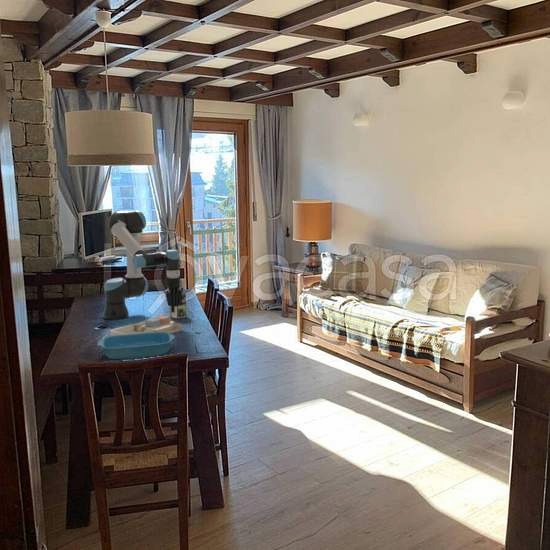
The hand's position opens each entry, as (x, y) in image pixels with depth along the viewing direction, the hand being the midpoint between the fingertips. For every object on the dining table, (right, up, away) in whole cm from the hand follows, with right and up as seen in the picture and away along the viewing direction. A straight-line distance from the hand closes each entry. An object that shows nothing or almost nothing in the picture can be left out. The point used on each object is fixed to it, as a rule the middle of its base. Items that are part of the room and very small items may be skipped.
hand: (174, 317), depth 325 cm
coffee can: (-2, -1, +24) cm, 24 cm away
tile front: (-10, -3, -12) cm, 16 cm away
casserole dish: (-10, -14, -48) cm, 51 cm away
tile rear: (-6, -2, -7) cm, 9 cm away
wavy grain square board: (-8, -7, -9) cm, 14 cm away
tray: (-19, -9, -23) cm, 31 cm away
